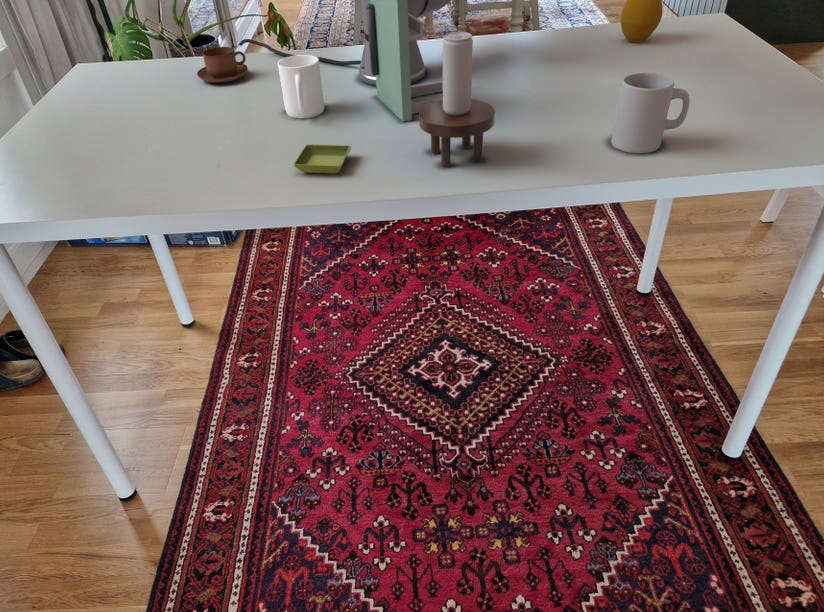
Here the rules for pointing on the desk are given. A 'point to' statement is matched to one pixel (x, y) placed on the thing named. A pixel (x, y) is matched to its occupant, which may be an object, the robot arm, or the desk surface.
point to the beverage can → (457, 73)
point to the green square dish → (322, 158)
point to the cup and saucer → (222, 65)
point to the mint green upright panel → (395, 56)
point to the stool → (456, 127)
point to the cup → (301, 86)
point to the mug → (645, 112)
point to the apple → (640, 18)
